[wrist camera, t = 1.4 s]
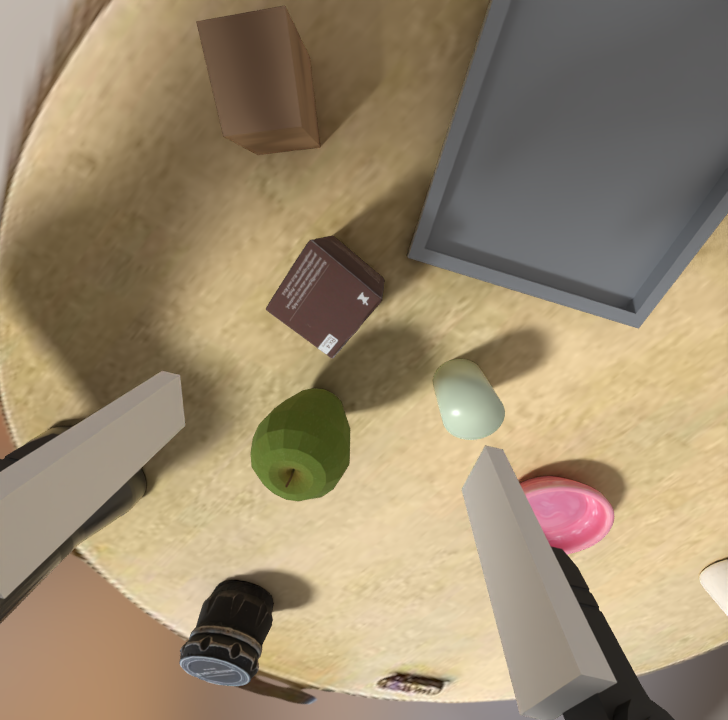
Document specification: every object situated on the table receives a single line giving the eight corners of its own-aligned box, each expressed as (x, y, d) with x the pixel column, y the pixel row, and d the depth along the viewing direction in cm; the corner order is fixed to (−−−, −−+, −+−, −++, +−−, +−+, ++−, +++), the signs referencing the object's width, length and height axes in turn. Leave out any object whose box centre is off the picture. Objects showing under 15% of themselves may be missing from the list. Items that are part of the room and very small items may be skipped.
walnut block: (258, 155, 22) (223, 136, 17) (241, 68, 19) (196, 21, 15) (320, 147, 21) (301, 126, 17) (310, 57, 19) (285, 5, 14)
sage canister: (425, 393, 30) (433, 430, 24) (444, 352, 27) (457, 383, 22) (470, 406, 30) (487, 446, 24) (491, 366, 28) (516, 400, 22)
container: (260, 620, 56) (235, 696, 47) (201, 595, 53) (163, 669, 44) (290, 597, 51) (269, 676, 42) (227, 568, 48) (189, 645, 39)
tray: (406, 255, 24) (407, 257, 22) (530, -124, 15) (547, -167, 13) (622, 321, 25) (638, 328, 23) (860, -2, 16) (913, -28, 14)
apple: (356, 435, 33) (341, 531, 22) (286, 426, 33) (239, 517, 23) (361, 370, 29) (345, 450, 19) (282, 361, 29) (223, 435, 19)
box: (333, 233, 24) (310, 235, 17) (386, 279, 25) (385, 298, 18) (295, 288, 26) (262, 309, 19) (345, 328, 27) (331, 361, 21)
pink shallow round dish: (495, 536, 39) (503, 561, 36) (484, 473, 34) (493, 496, 31) (595, 527, 36) (612, 553, 33) (599, 457, 31) (619, 480, 29)
